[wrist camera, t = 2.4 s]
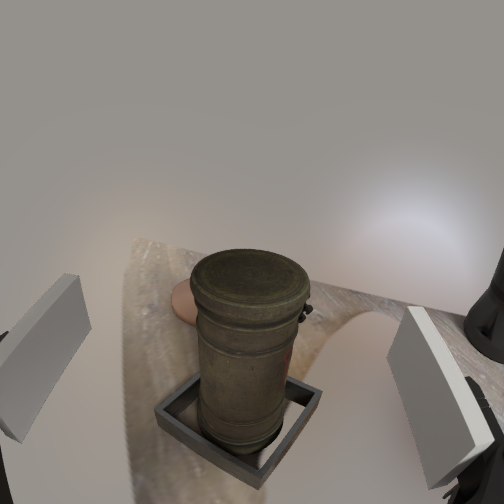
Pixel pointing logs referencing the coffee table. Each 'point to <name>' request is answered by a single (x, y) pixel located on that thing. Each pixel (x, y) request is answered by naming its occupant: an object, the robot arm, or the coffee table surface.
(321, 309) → the coffee table surface
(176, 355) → the coffee table surface
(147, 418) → the coffee table surface
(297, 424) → the collar
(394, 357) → the robot arm
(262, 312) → the container
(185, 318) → the peach soap bar
